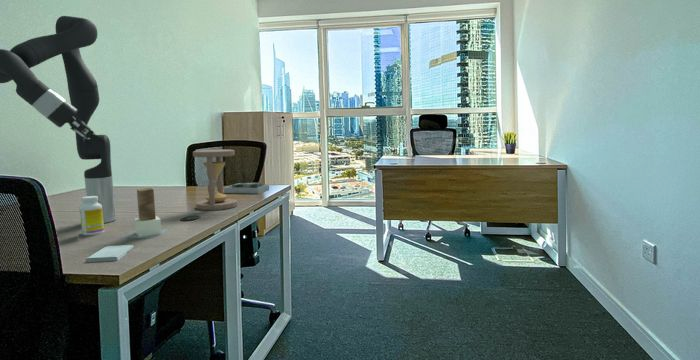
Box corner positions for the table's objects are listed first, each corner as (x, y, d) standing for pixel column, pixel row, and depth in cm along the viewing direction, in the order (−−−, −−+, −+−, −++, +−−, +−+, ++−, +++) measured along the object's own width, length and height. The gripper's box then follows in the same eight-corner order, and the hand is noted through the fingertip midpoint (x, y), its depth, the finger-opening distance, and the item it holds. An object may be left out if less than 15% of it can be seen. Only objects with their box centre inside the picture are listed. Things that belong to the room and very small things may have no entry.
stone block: (240, 191, 247) (239, 181, 247) (264, 191, 244) (264, 182, 244) (232, 193, 239) (232, 183, 238) (257, 193, 236) (257, 184, 235)
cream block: (138, 237, 146) (137, 222, 146) (135, 232, 152) (134, 218, 151) (161, 233, 150) (160, 219, 149) (157, 229, 156) (156, 215, 155)
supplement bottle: (108, 232, 155) (105, 195, 153) (91, 237, 149) (87, 199, 147) (95, 230, 158) (92, 194, 156) (77, 235, 152) (74, 197, 150)
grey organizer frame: (224, 193, 239) (223, 187, 238) (236, 188, 253) (236, 183, 253) (258, 193, 235) (258, 187, 234) (269, 189, 249) (269, 184, 248)
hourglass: (209, 202, 210) (205, 149, 207) (243, 203, 207) (241, 149, 204) (188, 210, 193) (184, 152, 190) (225, 210, 190) (222, 152, 186)
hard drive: (117, 256, 122) (133, 244, 135) (85, 258, 122) (104, 245, 134) (117, 262, 123) (134, 249, 135) (86, 264, 122) (105, 251, 134)
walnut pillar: (141, 220, 147) (138, 190, 146) (139, 218, 151) (136, 189, 150) (155, 219, 150) (153, 189, 148) (153, 216, 153) (151, 187, 152)
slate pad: (120, 238, 147) (120, 237, 146) (144, 229, 158) (144, 228, 158) (150, 239, 144) (150, 238, 144) (172, 230, 156) (172, 229, 156)
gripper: (65, 98, 130) (113, 136, 137) (64, 100, 142) (108, 135, 149) (44, 116, 128) (94, 154, 135) (46, 117, 139) (91, 152, 147)
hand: (102, 144), depth 142 cm, fingers open, 8 cm apart
